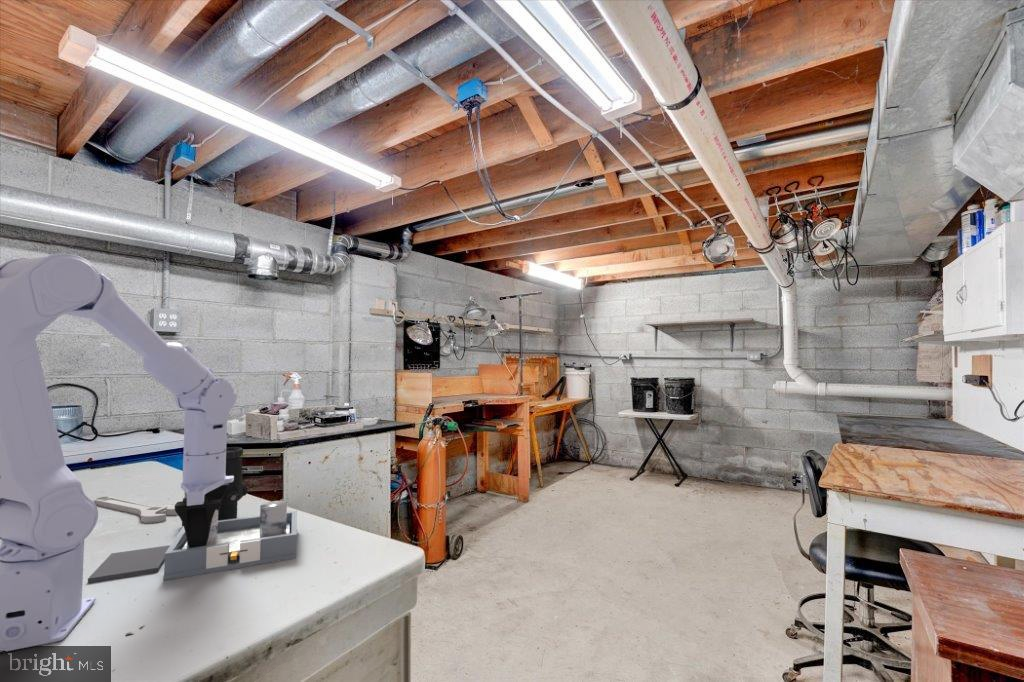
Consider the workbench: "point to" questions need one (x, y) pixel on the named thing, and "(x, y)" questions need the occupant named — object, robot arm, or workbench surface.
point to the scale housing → (218, 555)
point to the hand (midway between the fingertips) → (202, 537)
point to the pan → (239, 538)
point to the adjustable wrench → (137, 509)
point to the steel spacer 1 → (212, 530)
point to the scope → (231, 485)
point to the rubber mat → (130, 563)
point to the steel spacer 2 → (273, 518)
